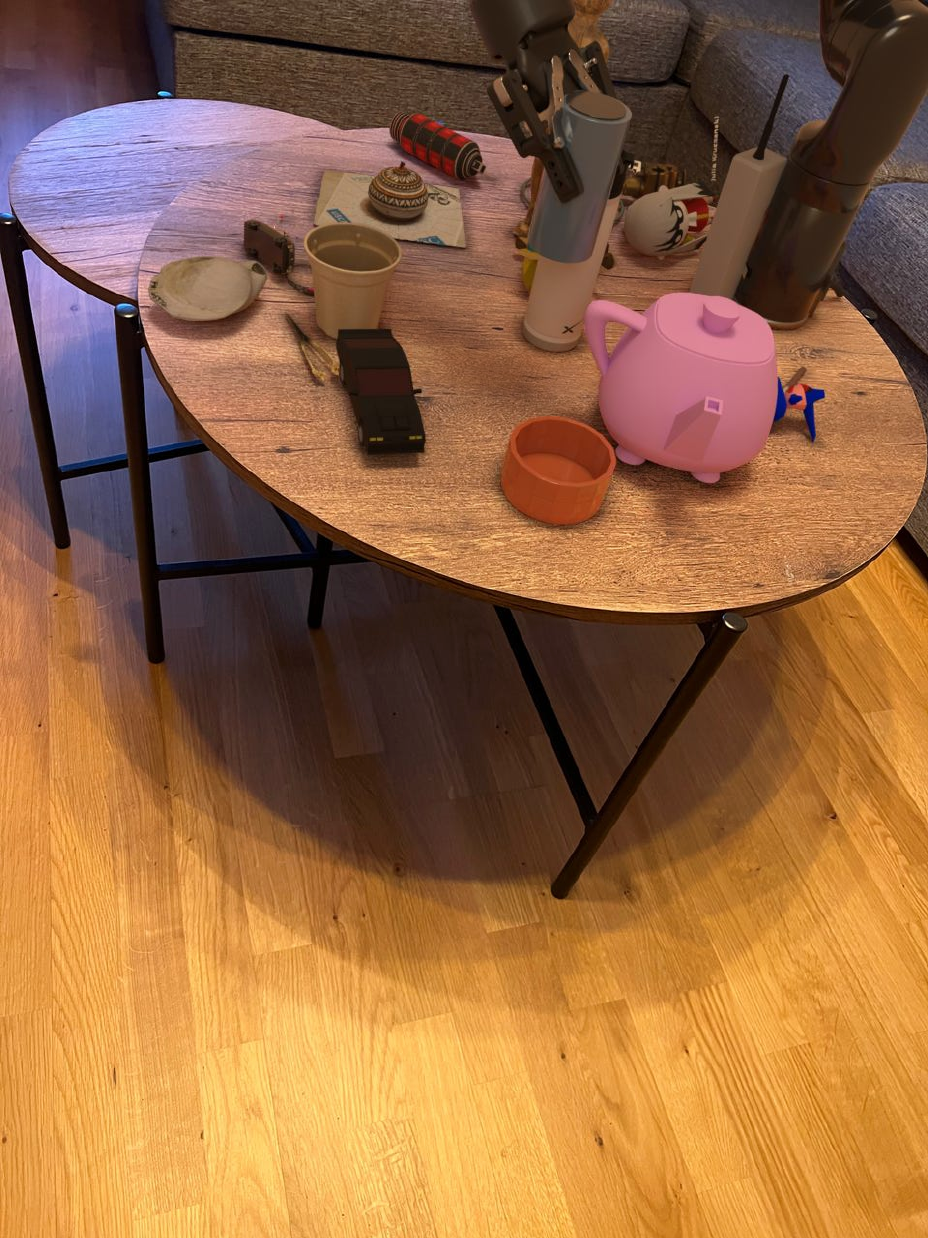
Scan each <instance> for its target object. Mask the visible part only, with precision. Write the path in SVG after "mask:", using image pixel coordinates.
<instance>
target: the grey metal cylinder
mask: <svg viewBox="0 0 928 1238" xmlns="http://www.w3.org/2000/svg"><path fill="white" fill-rule="evenodd" d="M564 102H565V103H564V104H562V110H563V115H562V118H561V125H562V129H563V133H564V140H565V146H564V147H563V148H562V149H565V148H567V147H568V150H569V152H570V154H571V157H572V159H573V162H574V164H575V167H576V169H577V171H578V174H579V176H580V179H581V181H582V184H583V186H584V192H583V194H581V195H580V196H578V197H576V198H574V199H572V200H570V201H568V202H566V203H562V202H561V201H560V200H559V198H558V196H557V194H556V193H555V191H554V189H553V185H552V184H551V182H550V179H549V177H548V175H547V172H546V170H545V167H544V168H543V172H542V177H541V181H540V185H539V190H538V194H537V198H536V203H535V207H534V211H533V216H532V220H531V224H530V229H529V233H528V237H527V241H528V244H529V246H530V247H531V248H532V249H533V250H534V251H535V252H536V253H538V254H539V255H541V256H543V257H545V258H548V259H550V260H553V261H557V262H562V263H581V262H584V261H586V260H588V259H589V258H590V257H591V256H592V254H593V251H594V247H595V244H596V240H597V237H598V233H599V230H600V226H601V223H602V219H603V216H604V212H605V209H606V205H607V202H608V198H609V195H610V191H611V188H612V184H613V181H614V177H615V174H616V171H617V167H618V164H619V160H620V157H621V153H622V150H624V147H625V143H626V140H627V136H628V132H629V128H630V125H631V121H632V117H633V113H632V111H631V109H630V108H629V107H628V105H626V104H625V103H623V102H622V101H621V100H618V99H617V100H616V99H614V98H612V97H610V96H607V95H604V94H602V92H600V93H597V92H590V91H583V90H577V91H574V92H571V93H569V94H567V95H564Z"/></svg>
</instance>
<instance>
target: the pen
mask: <svg viewBox="0 0 928 1238" xmlns="http://www.w3.org/2000/svg"><path fill="white" fill-rule="evenodd" d="M807 368H808V366H807V365H803V366H801V367H800V368H799V369H798V370H797V372H796V373H795V374H794V375H793V376H792V377H791V378H790V379H789V381H788V382H787V383H786V384H785V385H784V386H782V388H783V391H784V393H785V392H786V391H787V390H788V389H789V388H791V387H793V386H795V385H797V384H798V383H797V382H799V380H800V379H801V377H803V375H804V374H805V373H806V372H807Z"/></svg>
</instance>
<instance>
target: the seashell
mask: <svg viewBox="0 0 928 1238" xmlns="http://www.w3.org/2000/svg"><path fill="white" fill-rule="evenodd" d="M267 279H268V272H267V270H266V268H265V267H264V265H262V264H261V263H260V262H259V261H258V260H245V261H237V260H233V259H230V258H227V257H219V256H213V255H201V256H193V257H187V258H182V259H178V260H174V261H171V262H169V263H167V264H165V265H163V266H162V267H161V268H160V271H159V273H158V274H154V275H153V276H152V277H151V279H150V281H149V284H148V287H147V294H148V297H149V299H150V300H151V302H153V303H154V304H156V305H158V306H159V307H161V308H162V309H163V310H164V311H165V312H166V313H167V315H168V316H169V317H171V318H174V319H179V320H184V321H189V322H205V321H206V322H207V321H217V320H221V319H222V320H223V319H225V318H227V317H229V316H230V315H234V314H237V313H240V312H242V311H243V310H245V309H247V308H248V307H249V306H250V305H252V304H253V302H255V300H256V299H257V298H258V297H259V295H260V294H261V292H262V290H263V288H264V286H265V285H266V282H267Z"/></svg>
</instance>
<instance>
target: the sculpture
mask: <svg viewBox="0 0 928 1238" xmlns="http://www.w3.org/2000/svg"><path fill="white" fill-rule="evenodd" d="M572 2H573V4H574V7H575V16H574V18H573V19H572V21H571V22H569V24H568V31H569V33H570V35H571V37H572V38H573V40H574V41H575V42H576V44H577V45H578V47H585V46H586V45H589V44H590V43H592V42H593V41H597V42H598V43H599V44H600V46H601V49H602V52H603V55H604V58H605V62H606V65H607V64H608V60H609V56H610V53H611V52H610V47H609V43H608V39H607V37H606V34H605V33H603V31H601V30H600V29H599V26H598V25H599V24H598V23H599V19H600V18H601V16H602V14H604V12H605V11H606V10H608V9H609V8H610V6H611V4H612V2H613V0H572ZM607 66H608V65H607ZM591 76H592V75H591ZM537 114H539V113H538V112H537ZM546 132H547V134H549V135H550V133H549V127H548V128H546ZM543 168H544V165H543V163H542V161H541V160H540V161H539V160H537V159H536V158H535V157H534V159H533V162H532V166H531V173H530V178H531V181H530V200H529V201H530V205H529V209H527V213H526V216H525V218H524V219H523V220H522V221H520V222H519V223H518V224H516V226H515V228H514V230H513V231H512V233H513V234H514V235H516V236H518V235H521V234H524V235H526V236H528V233H529V229H530V224H531V220H532V216H533V211H534V207H535V203H536V198H537V194H538V190H539V185H540V181H541V177H542V172H543Z"/></svg>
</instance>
